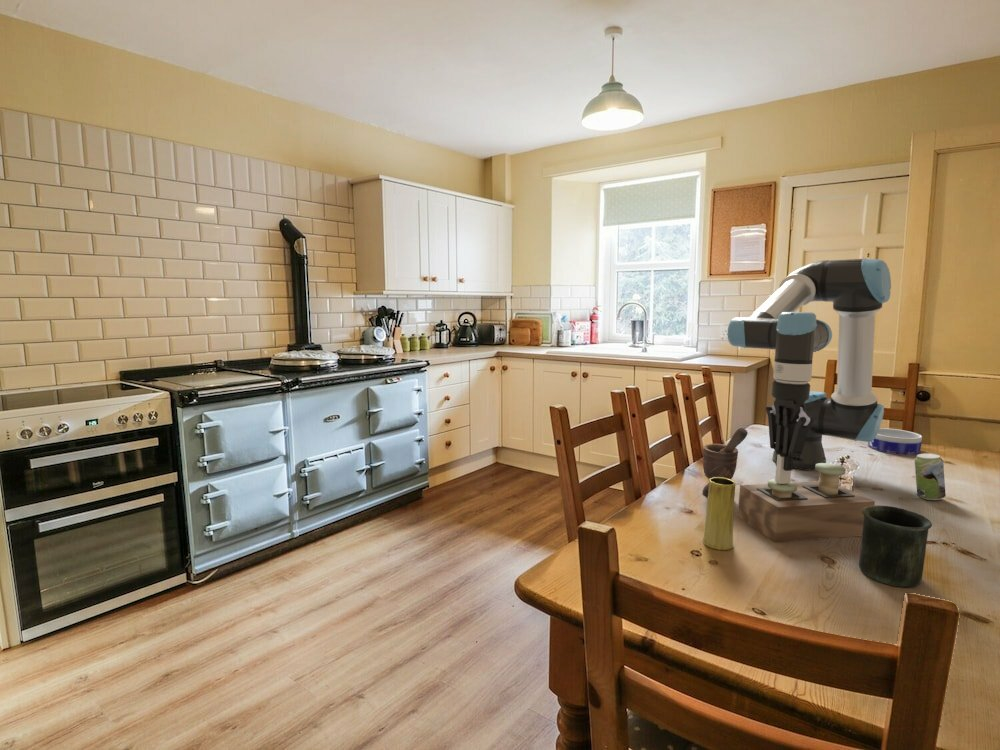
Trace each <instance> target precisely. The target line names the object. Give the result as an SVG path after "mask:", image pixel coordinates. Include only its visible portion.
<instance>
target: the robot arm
mask: <svg viewBox="0 0 1000 750" xmlns="http://www.w3.org/2000/svg"><path fill="white" fill-rule="evenodd" d="M891 289H892V280H891V272H890V268H889V266H888V264H887V263H886V262H885V261H884V260H883V259H879V258H878V259H877V258H876V259H875V258H874V259H873V258H853V259H835V260H829V259H828V260H825V259H824V260H817V261H815V262H811V263H808V264H805V265H803V266H801V267H799V268H797V269H796V270H794V271H792V272H790V273H789V274H787V276H786V277H784V278H783V279H782V280H781V282H780V284H779V287H778V289H777V290H775V292H774V293H773V294H772V295H770V296H769V297H768V298H767V299H766V300H765V301H764V302H763V303H762V304H761V305H760V306H759V307H758V308H757V309H755V310H754V311H753V312H752V314H750V315H749V316H748V317H744V316H742V317H734V318H731V320H730V321H729V324H728V327H727V340H728V342H729V344H730V345H731V346H732V347H738V348H739V347H740V348H744V349H746V348H747V349H763V350H775V351H774V365H773V377H772V378H773V379H774V381H772V382H771V383H772V385H771V397H773V398H774V401H773V404H772V405H771V406H765V411H766V414H767V419H768V421H767V422H768V423H767V424H768V435H769V446H770V447H769V448H771V449H773V450H774V451H773V452H772V461H773V463H775V468H776V469H775V478H774V479H775V482H777V483H779V484H787V483H790V481H791V476H792V475H791V474H792V471H793V469H797V470H806V471H807V470H809V471H814V470H815V466H816V464H818V463H827V458H826V454H825V451H824V446H823V443H822V440H823V436H828V437H833V438H840V439H843V440H844V439H845V440H849V441H854V442H866V443H868V442H870V441H872V440H874V439H875V437H876V435H877V433H878V431H879V428H881V424H882V422H883V418H884V413H885V405H884V404H882V403H878V396H877V395H876V394H875V393H874V392H872V390H873V389H872V387H873V369H874V365H873V364H874V347H875V346H874V345H875V325H876V314H877V313H878V312H879V311H881V310H882V308H883V304H884V303H887V302H888V301H889V299H890V297H891ZM810 302H811V303H812V302H826V303H827V302H832V309H833V311H834V312H836V313H837V314H838V342H837V345H838V346H837V347H838V348H837V379H836V380H837V382H836V391H835V392H833V393H831V395H830V397H828V396H827V393H826V392H823V391H813V390H812V391H811V384H810V383H809V382H810V381H811V380H812V374H813V358H814V357H813V356H814V353H816V352H819V351H821V350H824V349H825V348H826V347H827V346H829V344H830V342H832V338H833V331H832V329H831V326H830V325H829V324H828V323H827V322H824V321H823V320H820V319H817V315H816V313H814V312H807V311H798V310H799V309H800V308H801V307H802V306H806V305H808V304H809V303H810ZM815 471H816V470H815Z"/></svg>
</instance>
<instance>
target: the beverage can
mask: <svg viewBox="0 0 1000 750" xmlns="http://www.w3.org/2000/svg"><path fill="white" fill-rule="evenodd" d="M914 467H915V468H914V470H915V483H916V495H917V496H919V497H920V498H921V499H923V500H927V501H939V500H943V499H944V498H945V497H946V494H947V493H946V482H945V469H944V467H945V465H944V460H943V459H942V458H941V455H939V454H936V453H928V452H927V453H925V452H923V453H919V454H917V455H916V457H915V458H914Z"/></svg>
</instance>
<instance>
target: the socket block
mask: <svg viewBox="0 0 1000 750" xmlns="http://www.w3.org/2000/svg"><path fill="white" fill-rule="evenodd" d="M793 482H794V483H796V484H797V491H795V492H792V495H791V497H788V498H778V497H776V496H774V495H772V489H771V488H769V487H768V483H757V484H755V483H754V484H741V485H739V496H738V507H737V508H738V509H737V510H738V511H737V517H738V518H739V519H740V520H742V521H744V522H745V523H746V524H747V525H749V526H751V527H752V528H753V529H755V530H756V531H758V532H759V531H760V533H761V534H762V533H763V535H764V536H765V537H767V538H768V539H770V540H771V541H772V542H774V543H782V542H783V541H784V542H795V541H796V540H798V541H808V540H809V541H810V540H823V539H837V538H839V539H840V538H847V537H849V538H850V537H862V531H863V522H864V515H863V513H862V510H863V508H865V507H868V506H875V505H876V500H873V499H870V498H869V497H866V496H864V495H862V494H859V493H857V492H854V491H853V490H851V489H848V488H846V487H844V486H842V485H840V484H839V487H838V495H825V494H823V493H821V492H819V491H818V486H819V480H814V481H813V480H812V481H796V482H795V481H793ZM784 542H783V543H784ZM796 542H797V541H796Z"/></svg>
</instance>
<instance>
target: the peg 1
mask: <svg viewBox="0 0 1000 750" xmlns="http://www.w3.org/2000/svg"><path fill="white" fill-rule="evenodd" d="M767 481H768V482H767V484H768V487H769V488H771V489H772V495H774V496H776V497H778V498H788V497H791V495H792V492H795V491H797V484H796V483H794V482H795V481H792V480H790V483H787V484H779V483H777V482H775V478H773V479H771V478H770V479H769V480H767Z"/></svg>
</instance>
